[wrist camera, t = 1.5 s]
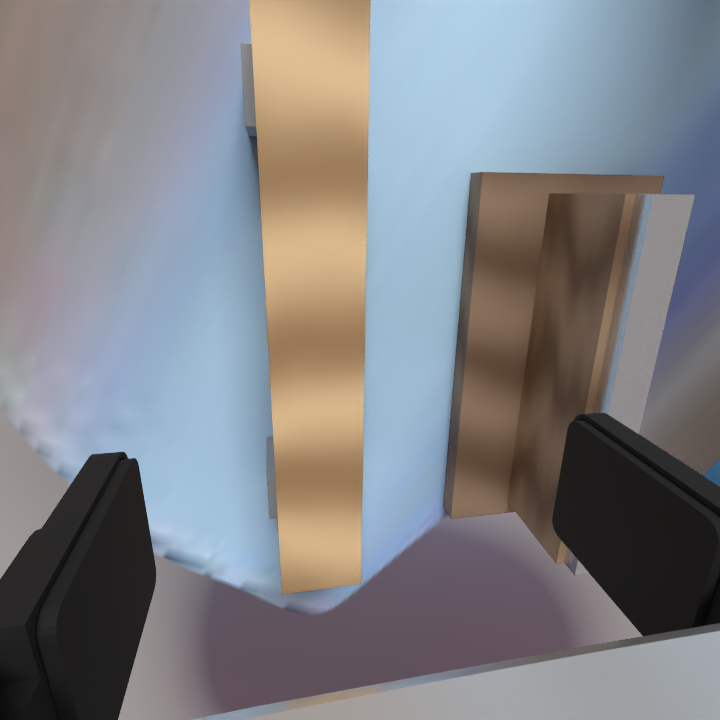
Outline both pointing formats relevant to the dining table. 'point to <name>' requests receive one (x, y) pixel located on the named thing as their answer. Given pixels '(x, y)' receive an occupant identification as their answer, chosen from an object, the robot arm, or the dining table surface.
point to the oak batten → (315, 273)
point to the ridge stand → (554, 330)
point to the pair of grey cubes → (252, 131)
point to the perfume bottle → (714, 474)
